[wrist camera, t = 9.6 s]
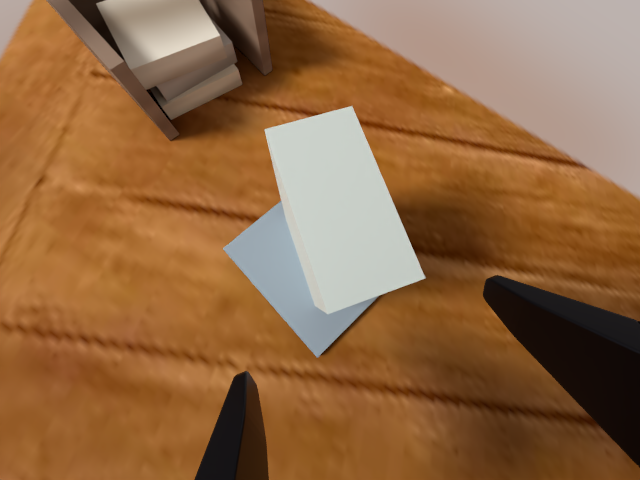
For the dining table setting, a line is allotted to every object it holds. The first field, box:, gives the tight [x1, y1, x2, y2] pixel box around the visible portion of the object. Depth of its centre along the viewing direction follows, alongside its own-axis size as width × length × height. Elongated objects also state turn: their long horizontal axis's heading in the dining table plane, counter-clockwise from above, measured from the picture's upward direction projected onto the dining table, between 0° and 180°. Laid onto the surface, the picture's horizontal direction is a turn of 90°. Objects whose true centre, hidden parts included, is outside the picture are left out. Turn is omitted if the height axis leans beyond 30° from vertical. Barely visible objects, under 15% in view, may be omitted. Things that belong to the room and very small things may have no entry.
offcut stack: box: [96, 0, 243, 120], centre depth 18 cm, size 6×6×4 cm
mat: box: [223, 201, 378, 358], centre depth 17 cm, size 9×9×1 cm
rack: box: [47, 0, 272, 141], centre depth 17 cm, size 9×10×6 cm
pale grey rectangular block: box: [264, 106, 425, 314], centre depth 13 cm, size 6×3×10 cm, turn 19°
